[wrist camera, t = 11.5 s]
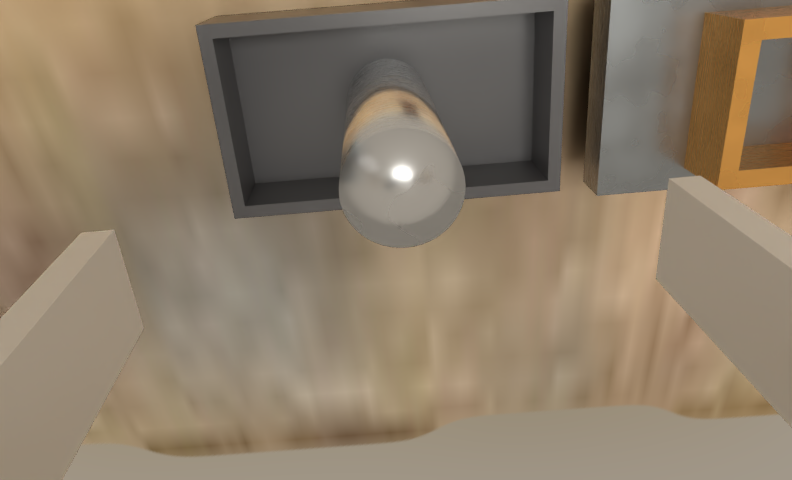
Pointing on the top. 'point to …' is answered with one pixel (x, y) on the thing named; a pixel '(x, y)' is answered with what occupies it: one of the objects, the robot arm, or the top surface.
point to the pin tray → (355, 48)
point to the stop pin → (397, 159)
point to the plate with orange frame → (689, 94)
